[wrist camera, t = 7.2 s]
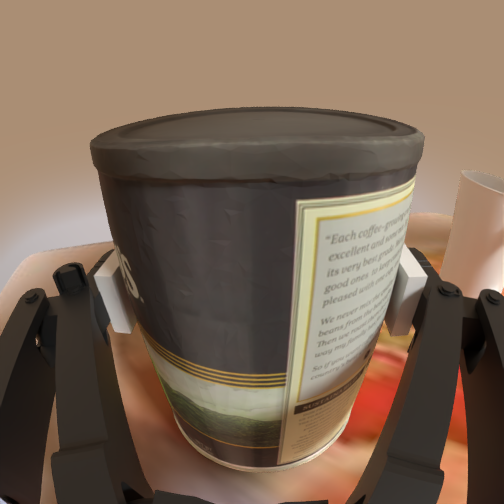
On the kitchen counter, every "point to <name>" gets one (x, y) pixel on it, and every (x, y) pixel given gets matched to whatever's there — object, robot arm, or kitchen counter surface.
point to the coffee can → (259, 266)
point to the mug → (476, 235)
